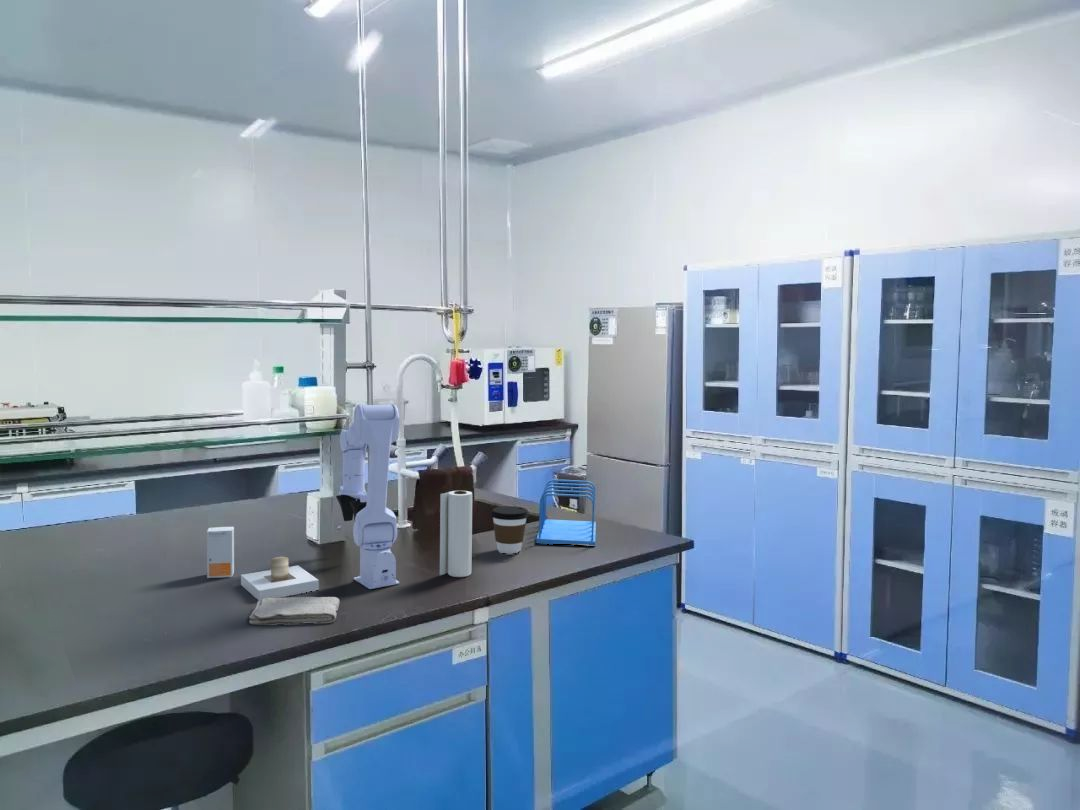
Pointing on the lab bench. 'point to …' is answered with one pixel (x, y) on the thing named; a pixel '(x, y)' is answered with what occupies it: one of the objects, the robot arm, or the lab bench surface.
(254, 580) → the socket block
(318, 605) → the washcloth
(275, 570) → the birch peg
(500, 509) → the coffee cup
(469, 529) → the paper towel roll
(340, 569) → the lab bench surface
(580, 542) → the file sorter
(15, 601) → the lab bench surface
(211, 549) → the skincare box
